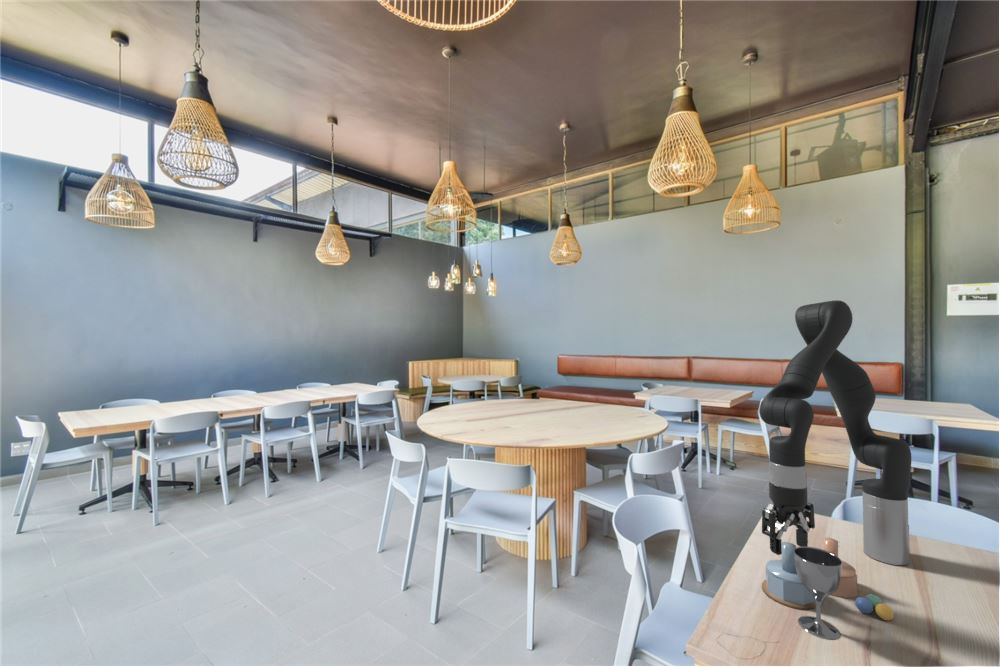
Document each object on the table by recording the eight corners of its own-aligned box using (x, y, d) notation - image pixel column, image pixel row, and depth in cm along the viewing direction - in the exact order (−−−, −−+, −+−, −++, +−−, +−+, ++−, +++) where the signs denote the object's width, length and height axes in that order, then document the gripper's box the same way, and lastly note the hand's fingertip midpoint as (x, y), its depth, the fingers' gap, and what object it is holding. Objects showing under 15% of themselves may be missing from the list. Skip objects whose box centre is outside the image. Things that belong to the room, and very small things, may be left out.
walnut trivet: (783, 577, 105) (783, 574, 105) (830, 603, 95) (830, 600, 95) (751, 585, 101) (751, 583, 101) (795, 614, 91) (795, 611, 91)
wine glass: (852, 643, 82) (850, 568, 82) (807, 638, 84) (806, 564, 84) (829, 617, 90) (827, 548, 90) (788, 612, 92) (787, 544, 92)
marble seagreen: (870, 603, 94) (870, 590, 94) (886, 611, 92) (886, 598, 92) (861, 606, 93) (861, 592, 93) (877, 614, 91) (877, 600, 91)
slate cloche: (784, 577, 104) (784, 533, 104) (823, 599, 95) (822, 550, 95) (757, 584, 101) (756, 539, 101) (795, 608, 92) (794, 558, 92)
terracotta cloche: (824, 571, 107) (823, 529, 107) (865, 592, 98) (864, 545, 98) (799, 579, 104) (798, 534, 104) (839, 600, 95) (838, 552, 95)
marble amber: (880, 612, 91) (880, 599, 91) (897, 621, 88) (897, 607, 88) (871, 615, 90) (871, 602, 90) (888, 624, 87) (888, 610, 87)
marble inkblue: (860, 606, 93) (860, 593, 93) (876, 614, 90) (876, 601, 91) (852, 609, 92) (851, 596, 92) (867, 618, 90) (867, 604, 90)
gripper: (793, 473, 104) (794, 537, 104) (750, 480, 99) (752, 547, 99) (825, 482, 97) (826, 552, 97) (781, 491, 92) (782, 563, 92)
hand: (789, 549), depth 98 cm, fingers open, 8 cm apart
